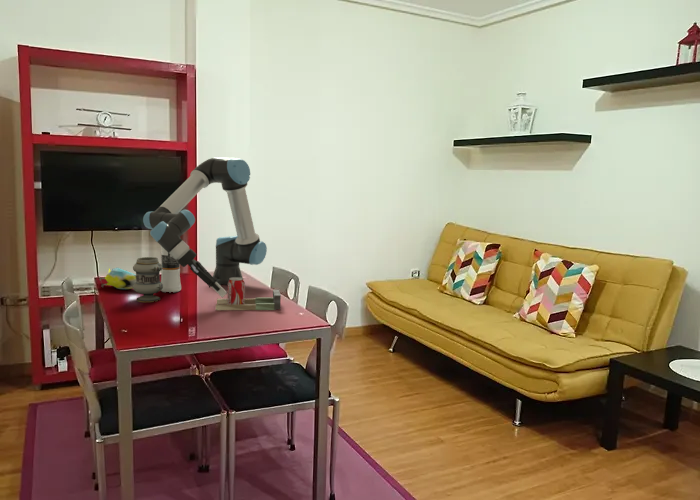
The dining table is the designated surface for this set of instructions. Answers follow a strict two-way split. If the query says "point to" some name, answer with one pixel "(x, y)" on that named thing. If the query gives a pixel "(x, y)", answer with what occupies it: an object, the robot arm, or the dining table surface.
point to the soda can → (236, 291)
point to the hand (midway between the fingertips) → (224, 295)
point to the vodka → (170, 272)
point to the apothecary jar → (147, 278)
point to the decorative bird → (120, 279)
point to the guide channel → (253, 303)
